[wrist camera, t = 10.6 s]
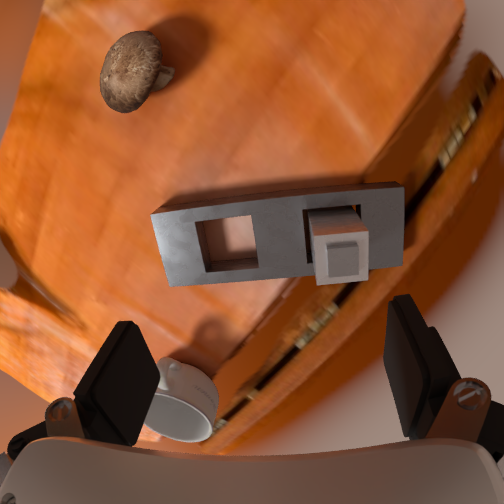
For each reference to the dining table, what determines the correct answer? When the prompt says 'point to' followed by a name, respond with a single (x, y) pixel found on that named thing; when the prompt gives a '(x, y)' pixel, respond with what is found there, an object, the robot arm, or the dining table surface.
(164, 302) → the dining table surface
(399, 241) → the rail
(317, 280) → the grey rectangular block
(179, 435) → the teacup
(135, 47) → the mushroom
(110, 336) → the robot arm
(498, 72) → the dining table surface
